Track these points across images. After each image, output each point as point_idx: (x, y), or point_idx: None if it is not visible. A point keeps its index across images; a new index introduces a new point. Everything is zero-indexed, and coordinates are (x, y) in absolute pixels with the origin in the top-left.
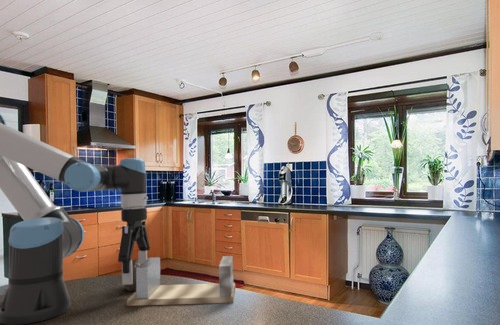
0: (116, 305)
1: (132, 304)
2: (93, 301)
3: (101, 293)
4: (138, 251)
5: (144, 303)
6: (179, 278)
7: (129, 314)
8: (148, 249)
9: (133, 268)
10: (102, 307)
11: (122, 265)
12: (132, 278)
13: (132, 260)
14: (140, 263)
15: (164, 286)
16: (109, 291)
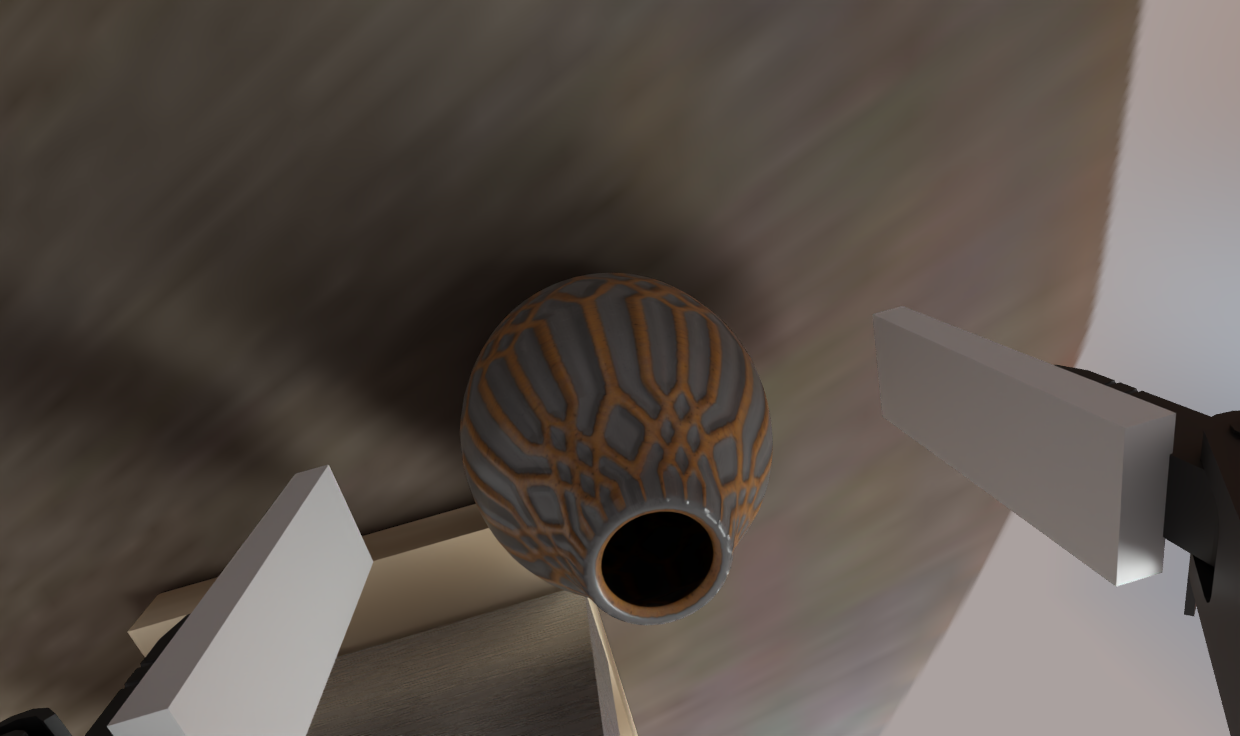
0: (125, 500)
1: None
2: (107, 176)
3: (376, 70)
4: (1134, 429)
5: None
6: (940, 587)
7: None
8: (1193, 606)
9: (524, 556)
10: (15, 408)
11: (161, 667)
12: (351, 604)
13: (699, 490)
14: (699, 583)
15: None
16: (467, 128)
